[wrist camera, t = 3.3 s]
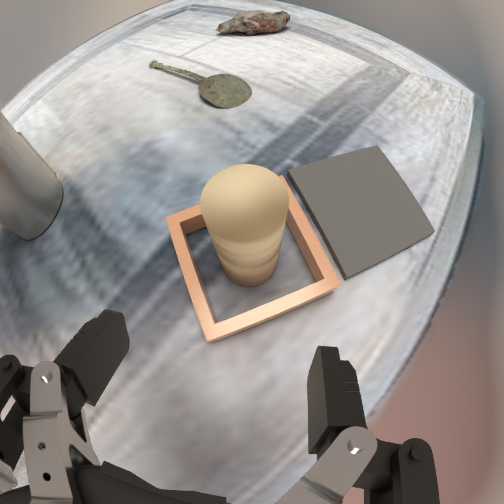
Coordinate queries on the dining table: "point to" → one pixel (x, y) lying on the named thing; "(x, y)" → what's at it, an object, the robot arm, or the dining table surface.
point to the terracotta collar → (215, 331)
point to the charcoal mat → (360, 208)
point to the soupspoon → (217, 87)
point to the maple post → (246, 221)
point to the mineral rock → (255, 22)
